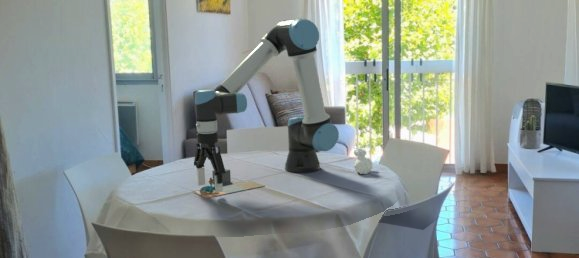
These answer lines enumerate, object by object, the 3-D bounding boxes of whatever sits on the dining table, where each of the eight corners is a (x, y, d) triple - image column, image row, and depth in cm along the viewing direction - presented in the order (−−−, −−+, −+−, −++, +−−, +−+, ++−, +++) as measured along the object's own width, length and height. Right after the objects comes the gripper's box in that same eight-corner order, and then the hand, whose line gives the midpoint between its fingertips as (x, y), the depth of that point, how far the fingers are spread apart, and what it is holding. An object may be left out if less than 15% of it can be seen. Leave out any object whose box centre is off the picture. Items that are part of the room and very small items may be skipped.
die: (221, 180, 231) (221, 168, 230) (230, 182, 228) (230, 169, 227) (213, 182, 227) (212, 170, 226) (221, 184, 224) (221, 172, 223)
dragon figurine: (207, 195, 204) (221, 182, 209) (191, 186, 206) (205, 173, 212) (207, 207, 208) (220, 194, 214) (191, 198, 211) (204, 185, 216)
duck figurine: (368, 174, 244) (354, 152, 246) (381, 165, 240) (366, 143, 242) (355, 180, 234) (340, 157, 237) (368, 171, 230) (353, 148, 232)
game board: (251, 181, 227) (251, 180, 227) (264, 186, 219) (264, 185, 219) (193, 192, 213) (193, 191, 213) (206, 198, 205) (206, 197, 205)
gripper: (182, 129, 215) (186, 183, 219) (214, 137, 195) (217, 197, 199) (200, 127, 220) (203, 180, 223) (233, 134, 200) (235, 193, 203)
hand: (210, 188), depth 211 cm, fingers open, 13 cm apart
